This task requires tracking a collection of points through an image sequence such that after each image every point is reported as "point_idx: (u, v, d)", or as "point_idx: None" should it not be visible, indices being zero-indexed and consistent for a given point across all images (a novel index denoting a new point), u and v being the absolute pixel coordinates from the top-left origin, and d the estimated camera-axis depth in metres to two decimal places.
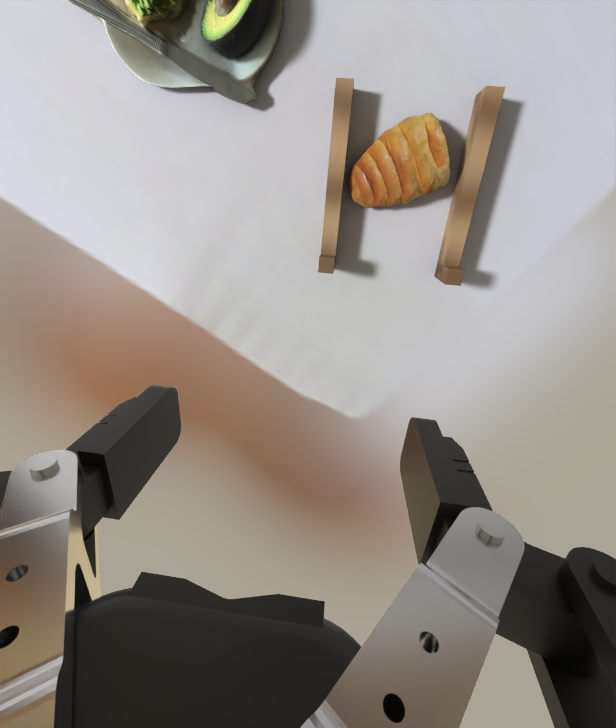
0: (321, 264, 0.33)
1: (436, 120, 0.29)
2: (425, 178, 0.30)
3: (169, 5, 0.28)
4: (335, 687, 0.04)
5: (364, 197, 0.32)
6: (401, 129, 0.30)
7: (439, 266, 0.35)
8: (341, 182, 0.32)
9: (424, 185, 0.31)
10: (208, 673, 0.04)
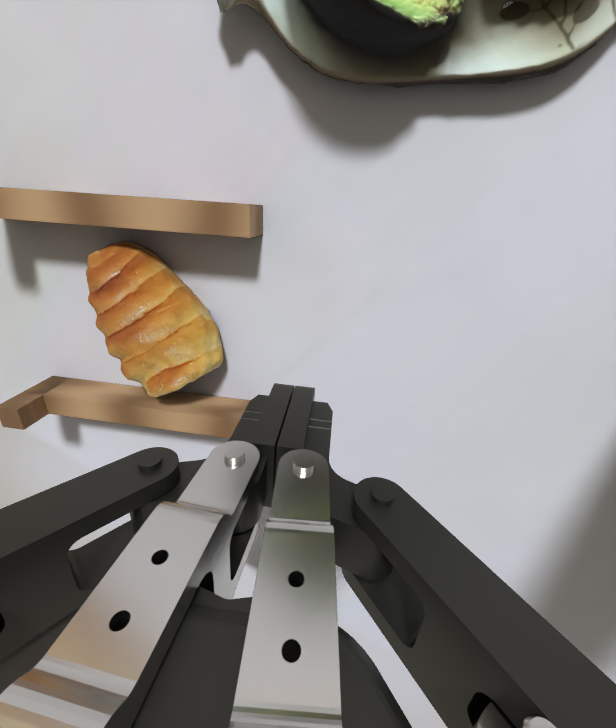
0: None
1: (201, 373, 0.20)
2: (127, 369, 0.20)
3: None
4: (335, 687, 0.04)
5: (89, 276, 0.19)
6: (187, 325, 0.19)
7: (56, 384, 0.24)
8: (102, 223, 0.17)
9: (122, 367, 0.20)
10: (208, 673, 0.04)
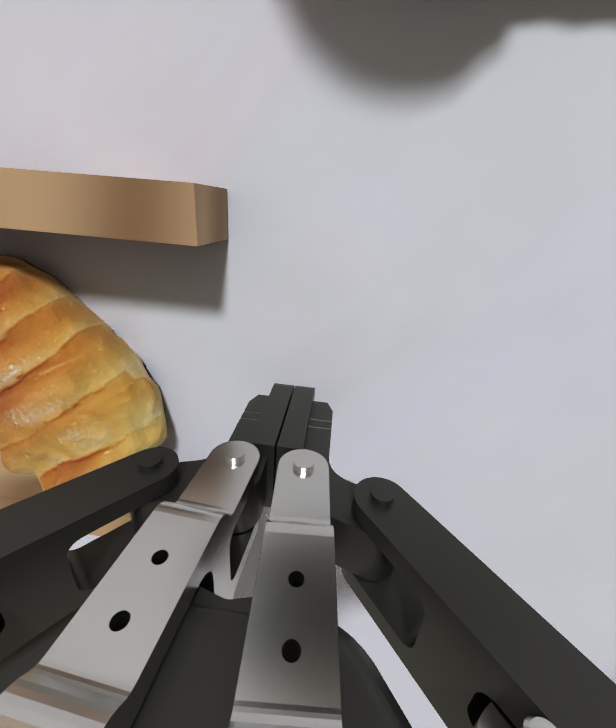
0: None
1: None
2: (5, 460, 0.12)
3: None
4: (335, 687, 0.04)
5: None
6: (98, 392, 0.12)
7: None
8: None
9: None
10: (208, 673, 0.04)
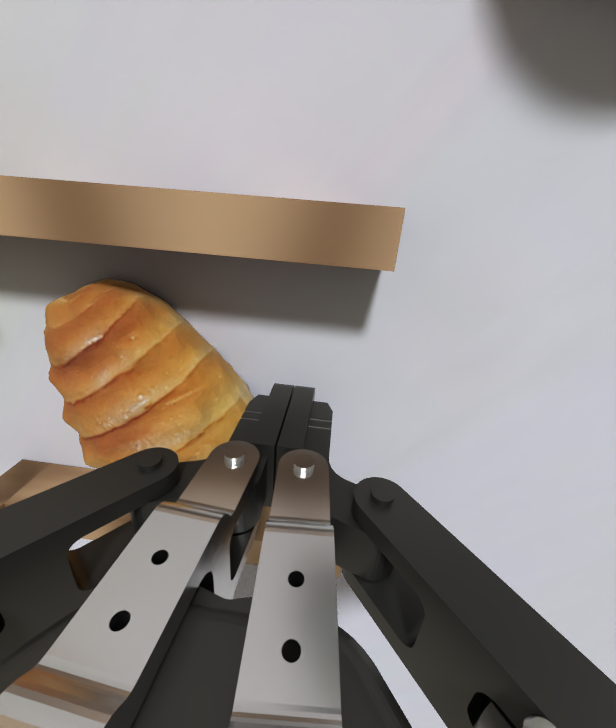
0: None
1: None
2: None
3: None
4: (335, 687, 0.04)
5: (48, 341, 0.11)
6: (219, 420, 0.12)
7: (26, 477, 0.16)
8: (107, 239, 0.09)
9: None
10: (208, 673, 0.04)
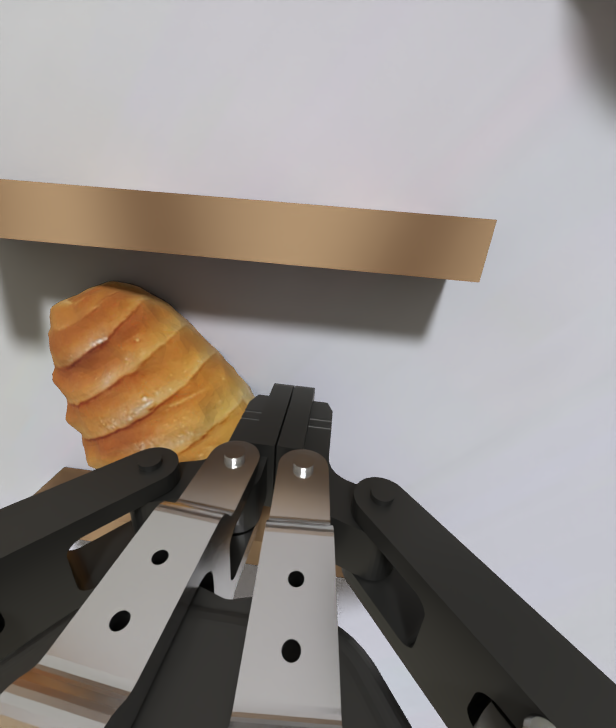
0: None
1: None
2: None
3: None
4: (335, 687, 0.04)
5: (52, 343, 0.11)
6: (222, 422, 0.12)
7: None
8: (187, 249, 0.09)
9: None
10: (208, 673, 0.04)
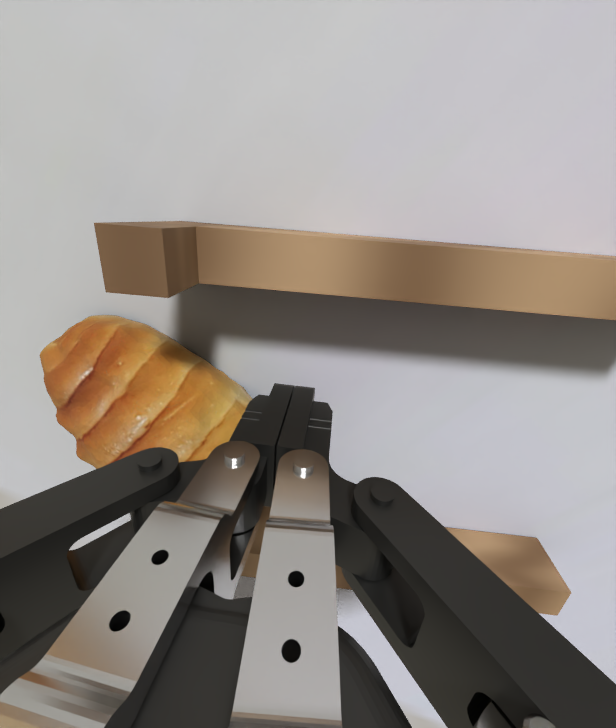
0: (129, 239, 0.07)
1: None
2: None
3: None
4: (335, 687, 0.04)
5: (47, 385, 0.12)
6: (219, 425, 0.12)
7: None
8: (438, 299, 0.09)
9: None
10: (208, 673, 0.04)
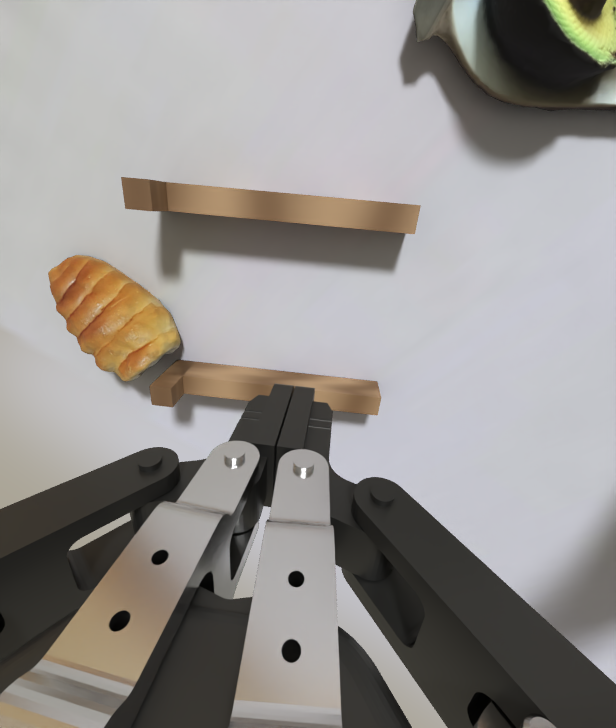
0: (135, 184, 0.18)
1: (160, 351, 0.24)
2: (99, 360, 0.24)
3: None
4: (335, 687, 0.04)
5: (52, 289, 0.23)
6: (140, 313, 0.23)
7: (186, 366, 0.26)
8: (280, 218, 0.19)
9: (96, 361, 0.24)
10: (208, 673, 0.04)
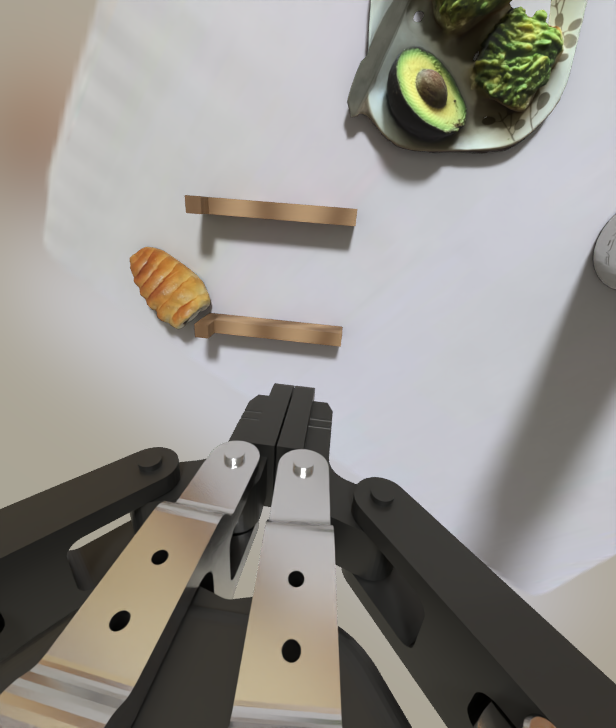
0: (192, 199, 0.31)
1: (198, 306, 0.37)
2: (160, 313, 0.38)
3: (440, 2, 0.25)
4: (335, 687, 0.04)
5: (132, 268, 0.37)
6: (186, 281, 0.37)
7: (216, 316, 0.39)
8: (275, 217, 0.33)
9: (158, 314, 0.38)
10: (208, 673, 0.04)
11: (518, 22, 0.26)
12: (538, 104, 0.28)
